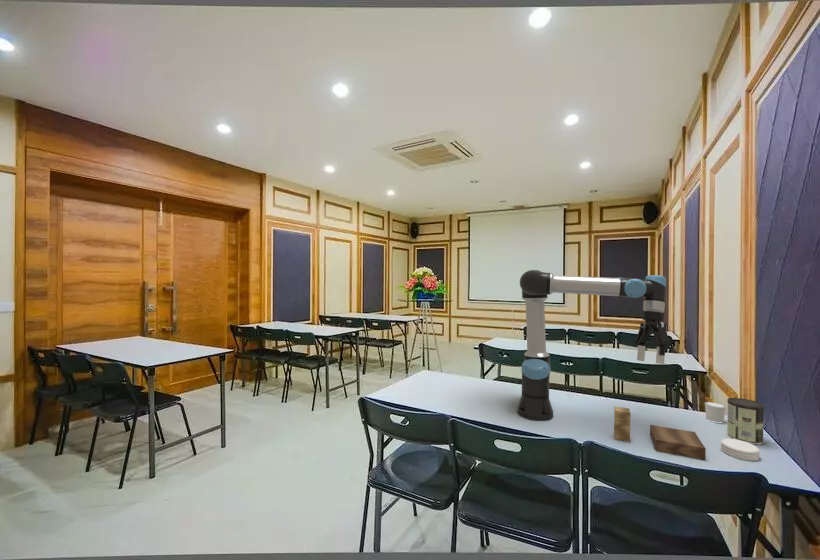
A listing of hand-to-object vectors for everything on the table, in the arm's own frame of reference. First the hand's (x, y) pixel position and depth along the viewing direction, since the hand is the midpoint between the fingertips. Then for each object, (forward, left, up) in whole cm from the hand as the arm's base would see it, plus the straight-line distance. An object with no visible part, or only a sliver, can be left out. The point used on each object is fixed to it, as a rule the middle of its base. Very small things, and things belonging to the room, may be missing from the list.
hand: (649, 362), depth 149 cm
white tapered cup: (+26, +18, -26) cm, 41 cm away
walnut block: (+6, -18, -26) cm, 32 cm away
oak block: (-11, -19, -26) cm, 34 cm away
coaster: (+25, -14, -27) cm, 39 cm away
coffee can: (+31, +2, -26) cm, 41 cm away
